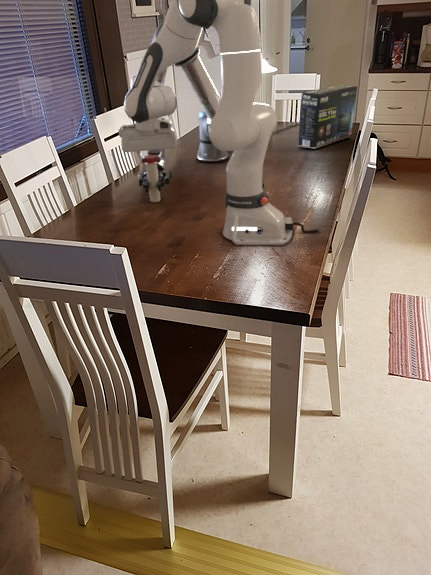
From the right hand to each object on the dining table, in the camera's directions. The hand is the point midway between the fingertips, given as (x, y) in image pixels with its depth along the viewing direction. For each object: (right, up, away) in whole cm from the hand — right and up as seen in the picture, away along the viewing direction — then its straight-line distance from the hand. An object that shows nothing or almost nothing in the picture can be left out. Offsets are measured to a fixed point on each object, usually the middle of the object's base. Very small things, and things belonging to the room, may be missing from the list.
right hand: (151, 161), depth 171 cm
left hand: (+1, -10, 0) cm, 10 cm away
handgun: (+39, -1, +24) cm, 46 cm away
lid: (0, +1, -1) cm, 2 cm away
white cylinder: (+1, -13, +8) cm, 15 cm away
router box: (+83, +30, +73) cm, 115 cm away
